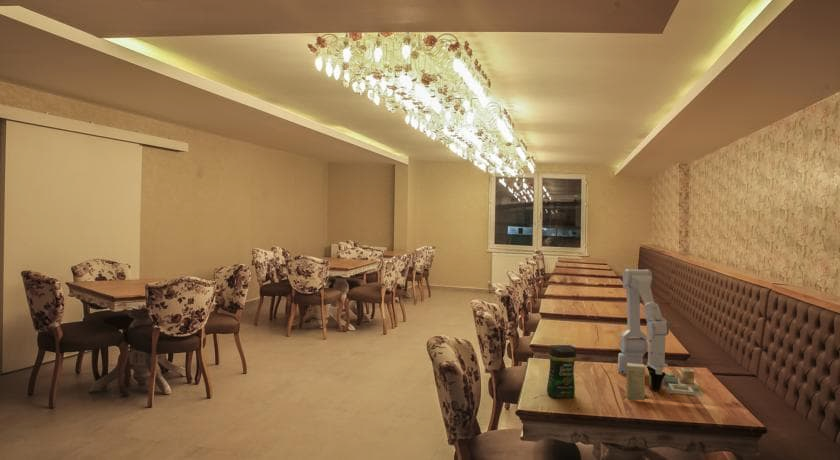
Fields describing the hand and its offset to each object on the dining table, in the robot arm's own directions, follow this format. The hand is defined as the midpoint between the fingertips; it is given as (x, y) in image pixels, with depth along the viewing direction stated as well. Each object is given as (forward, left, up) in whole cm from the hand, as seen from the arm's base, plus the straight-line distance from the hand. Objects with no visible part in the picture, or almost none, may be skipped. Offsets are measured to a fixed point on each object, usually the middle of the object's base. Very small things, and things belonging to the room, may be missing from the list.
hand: (655, 387), depth 205 cm
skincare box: (-8, -9, -2) cm, 12 cm away
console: (+6, +9, 0) cm, 11 cm away
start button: (+6, +9, 0) cm, 11 cm away
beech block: (+12, +9, 0) cm, 15 cm away
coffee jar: (-34, -15, -2) cm, 37 cm away
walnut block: (0, 0, -2) cm, 2 cm away
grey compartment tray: (+10, +5, -2) cm, 11 cm away
